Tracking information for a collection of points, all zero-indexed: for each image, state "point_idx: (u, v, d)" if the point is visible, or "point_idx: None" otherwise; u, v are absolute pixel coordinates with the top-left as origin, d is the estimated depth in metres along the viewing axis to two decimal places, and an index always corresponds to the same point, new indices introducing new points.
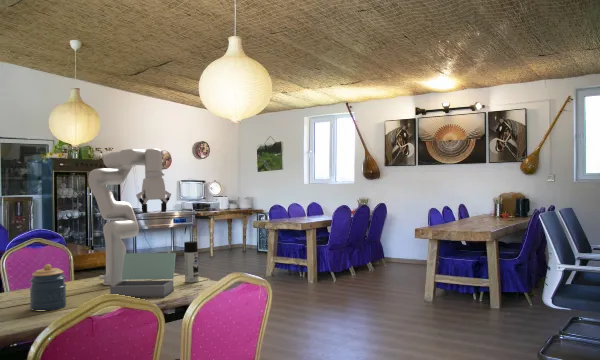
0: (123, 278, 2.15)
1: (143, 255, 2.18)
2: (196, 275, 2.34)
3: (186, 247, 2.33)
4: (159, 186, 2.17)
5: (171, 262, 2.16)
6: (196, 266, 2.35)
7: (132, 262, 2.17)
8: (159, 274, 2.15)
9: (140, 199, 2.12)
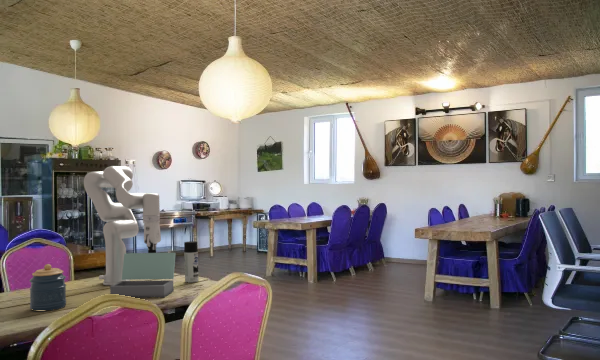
0: (123, 278, 2.15)
1: (143, 255, 2.18)
2: (196, 275, 2.34)
3: (186, 247, 2.33)
4: None
5: (171, 262, 2.16)
6: (196, 266, 2.35)
7: (132, 262, 2.17)
8: (159, 274, 2.15)
9: None
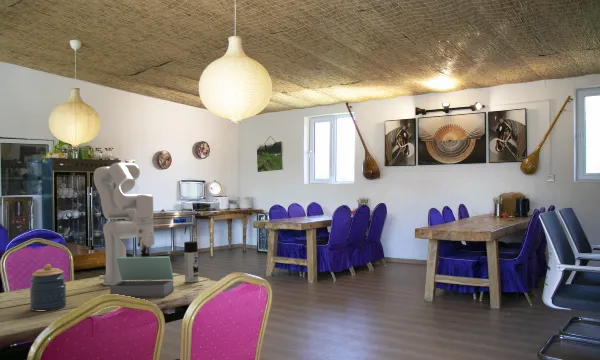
0: (123, 279, 2.15)
1: (136, 260, 2.10)
2: (196, 275, 2.34)
3: (186, 247, 2.33)
4: None
5: (167, 266, 2.11)
6: (196, 266, 2.35)
7: (127, 266, 2.12)
8: (158, 276, 2.13)
9: None
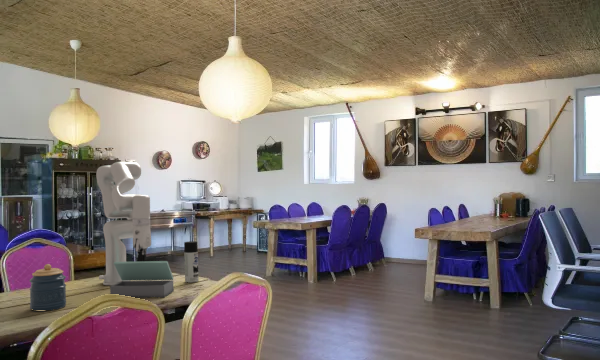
0: (123, 279, 2.15)
1: (134, 264, 2.08)
2: (196, 275, 2.34)
3: (186, 247, 2.33)
4: None
5: (166, 269, 2.09)
6: (196, 266, 2.35)
7: (125, 269, 2.10)
8: (158, 277, 2.13)
9: None
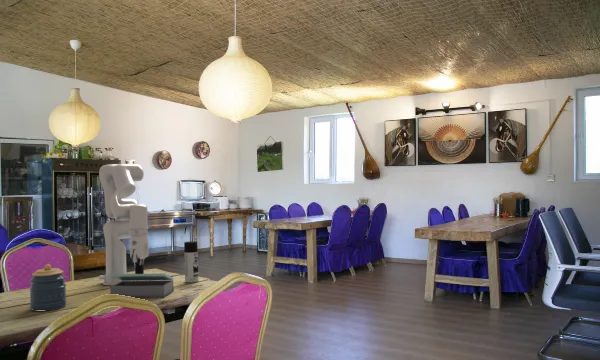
0: (123, 280, 2.15)
1: (131, 276, 2.05)
2: (196, 275, 2.34)
3: (186, 247, 2.33)
4: None
5: (165, 277, 2.07)
6: (196, 266, 2.35)
7: (123, 277, 2.08)
8: (157, 279, 2.12)
9: None
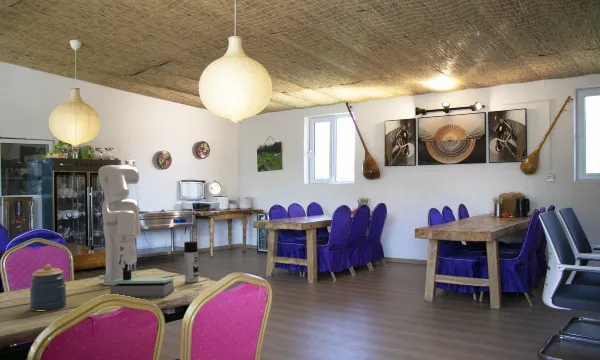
0: None
1: None
2: (196, 275, 2.34)
3: (186, 247, 2.33)
4: None
5: None
6: (196, 266, 2.35)
7: None
8: None
9: None
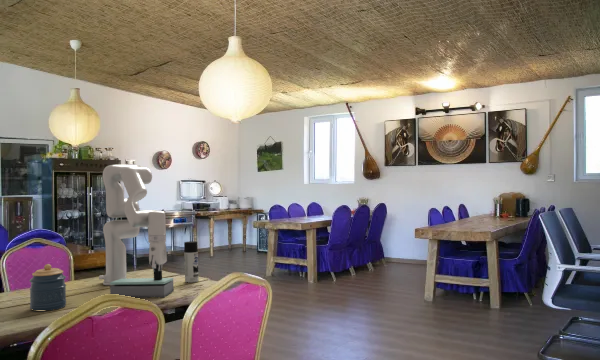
0: None
1: None
2: (196, 275, 2.34)
3: (186, 247, 2.33)
4: None
5: None
6: (196, 266, 2.35)
7: None
8: None
9: None
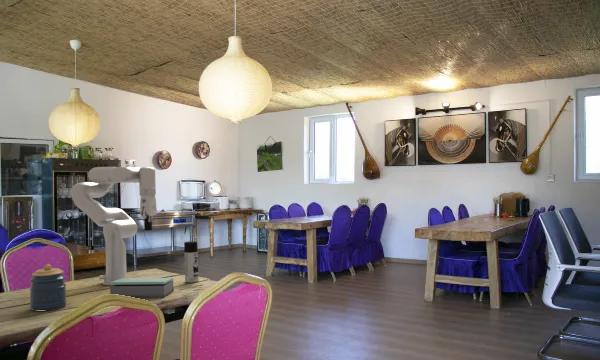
0: None
1: None
2: (196, 275, 2.34)
3: (186, 247, 2.33)
4: None
5: None
6: (196, 266, 2.35)
7: None
8: None
9: None
